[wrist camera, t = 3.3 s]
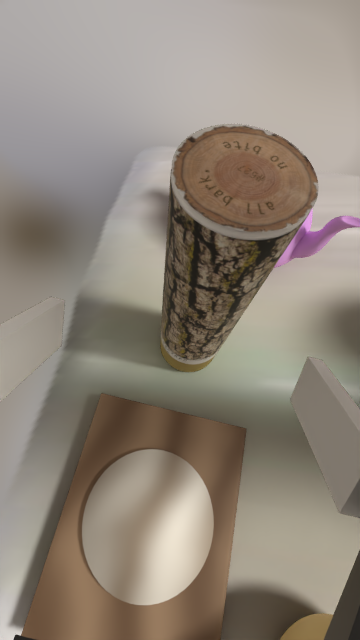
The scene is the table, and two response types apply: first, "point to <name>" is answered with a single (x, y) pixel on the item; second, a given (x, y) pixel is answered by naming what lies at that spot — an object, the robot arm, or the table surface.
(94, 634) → the walnut board
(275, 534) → the table surface
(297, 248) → the teapot
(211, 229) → the paper tube
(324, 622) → the sculpture
